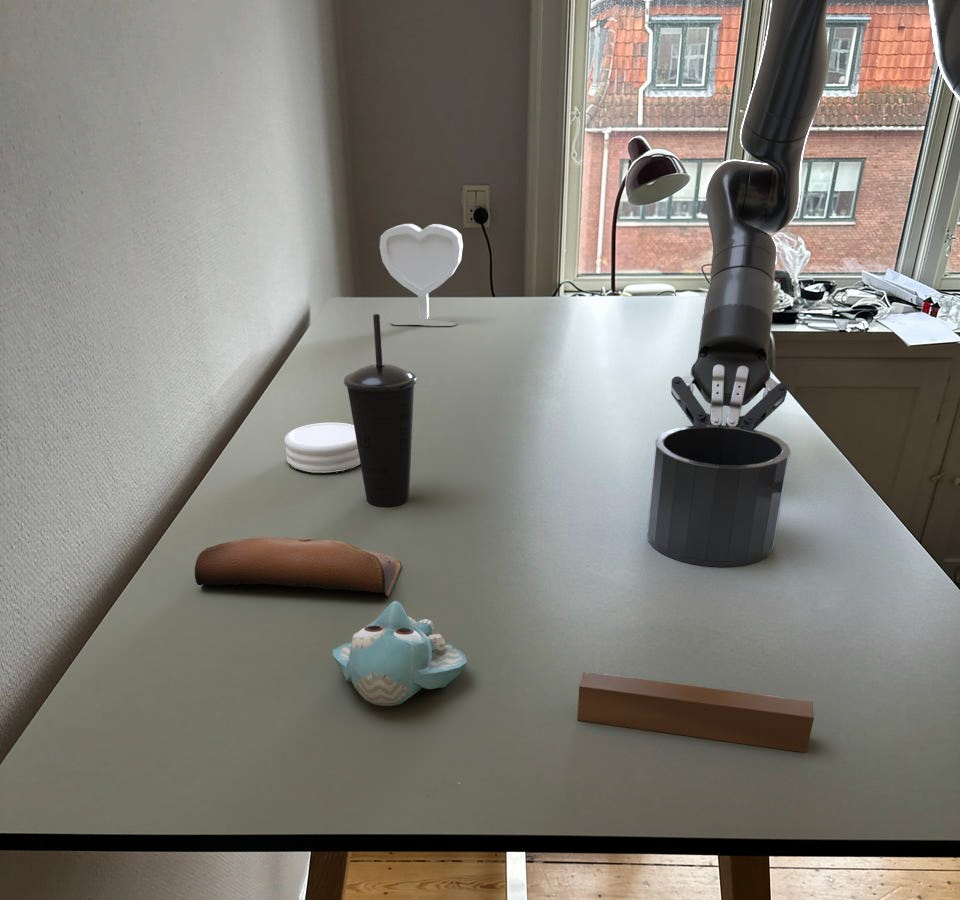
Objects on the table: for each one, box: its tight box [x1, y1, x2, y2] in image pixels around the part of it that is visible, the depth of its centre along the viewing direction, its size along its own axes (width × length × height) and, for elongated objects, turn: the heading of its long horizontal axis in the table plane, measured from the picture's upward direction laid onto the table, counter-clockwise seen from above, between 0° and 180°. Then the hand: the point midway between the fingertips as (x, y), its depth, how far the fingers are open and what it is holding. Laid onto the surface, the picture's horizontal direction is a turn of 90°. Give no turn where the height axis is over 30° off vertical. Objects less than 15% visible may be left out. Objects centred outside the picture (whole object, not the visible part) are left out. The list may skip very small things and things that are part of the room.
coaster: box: [284, 422, 361, 471], centre depth 114 cm, size 10×10×4 cm
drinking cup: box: [343, 313, 417, 508], centre depth 99 cm, size 8×8×20 cm
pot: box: [646, 424, 792, 568], centre depth 91 cm, size 13×13×10 cm
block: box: [576, 671, 815, 754], centre depth 65 cm, size 2×16×3 cm, turn 76°
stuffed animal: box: [332, 600, 468, 707], centre depth 71 cm, size 11×7×12 cm
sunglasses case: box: [194, 536, 402, 597], centre depth 86 cm, size 18×7×7 cm
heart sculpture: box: [379, 223, 464, 319], centre depth 178 cm, size 16×5×18 cm, turn 81°
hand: (719, 463), depth 99 cm, fingers closed
